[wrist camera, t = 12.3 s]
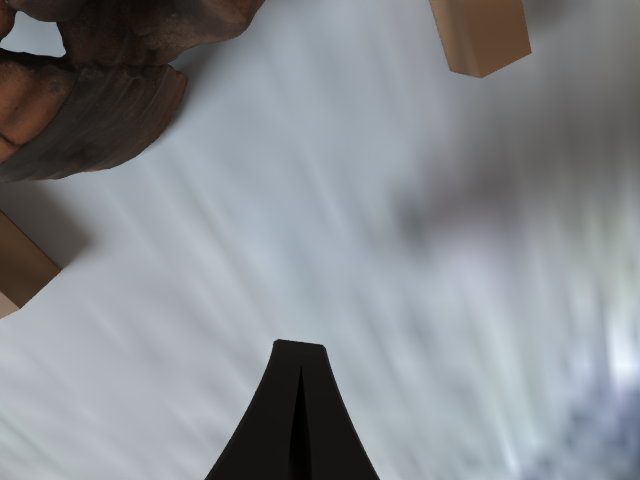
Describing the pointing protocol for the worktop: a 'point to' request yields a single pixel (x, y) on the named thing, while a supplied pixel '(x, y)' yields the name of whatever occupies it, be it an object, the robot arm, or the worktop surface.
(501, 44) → the corral
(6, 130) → the pottery mug
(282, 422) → the robot arm
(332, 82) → the worktop surface
